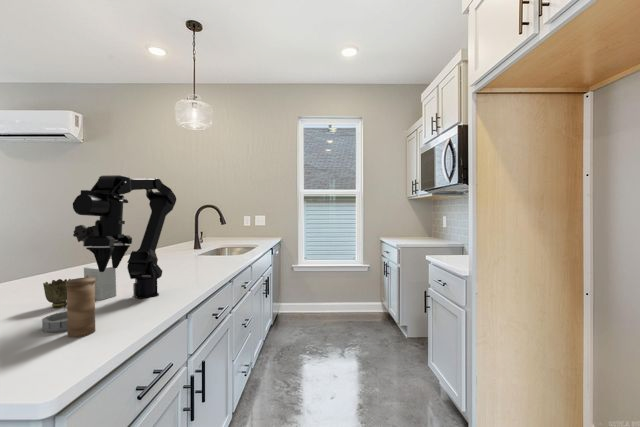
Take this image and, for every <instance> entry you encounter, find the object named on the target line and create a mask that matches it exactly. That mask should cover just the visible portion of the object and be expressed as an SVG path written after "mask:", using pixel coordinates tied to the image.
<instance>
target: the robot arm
mask: <svg viewBox="0 0 640 427" xmlns="http://www.w3.org/2000/svg"><path fill="white" fill-rule="evenodd" d="M135 190H137V191H138V190H145V196H146V198H147V199H148V201H149V207H150V210H151V212H150V216H149V218H148V219H149V220H148V221H147V224H146V228H145V231H144V234H143V237H142V240H141V243H140V246H139V248H138V249H136V250H132V251H131V252H130V256H129V259H128V261H127V262H126V263H127V267H126V269H127V272H128V275H129V278H130V280H135V281H134V283H133V284H132V285H133V289H132V291H133V296H134V297H135V298H136V299H139V300H140V299H144V298H146V299H147V298H152V297H156V296H159V295H160V293H159V292H158V279H160V278H161V277H162V274H163V269H162V268H161V267H160V265H158V261H159V259H158V256H157V253H156V250H157V247H158V244H159V240H160V237H161V233H162V230H163V227H164V224H165V221H166V217H167V215H168V214H169V213H171V212H172V211H173V210H174V207H175V205H176V203H177V197H176V195H175V193H174V191H173V190H172V188H170V187H169V186H167V185H166V184H164V182H162V180H161V179H159V178H157V177H148V178H147V177H146V178H131V177H129V176H127V175H126V176H125V175H120V174H118V175H114V174H113V175H107V174H106V175H100V176H99V177H98V179H97V181H96V182H95V184H94V185H93V186H92V188H91V189H90V190H89V189H86V190H85V189H81V190H80V194H79V195H77V196H76V197H75V198H74V201H73V202H72V209H73V211H74V212H75V214H77V215H78V216H79V215H80V216H90V217H99V219H96V220H95V222H94V225H92V226H85V225H84V224H80V225H76V226H75V227H74V231H73V235H72V236H73V237H74V238H76V240H77V242H79V243H80V242H83V243H82V244H83V245H82V246H83V247H85V248H86V250H88V251H90V252H91V253H93V256H94V257H95V262H96V265H98V269H99V272H104V271H105V269H106V267H107V266H108V264H109V262H110V259H111V266H113V268H116V269H118V267H119V265H120V263H121V262H122V260H123V258H124V256H125V254H126V253H127V251H128V249H129V248H130V247H131V245H133V237H132V236H130V234H129V235H128V234H127V235H125V233H124V234H123V225H125V224H126V221H125V220H123V219H124V218H123V216H124V215H123V214H124V204H128V203H129V200H128V199H127V198H125V194H129V193H131V192H132V191H135ZM153 190H157V191H155V192H154V191H153Z"/></svg>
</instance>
